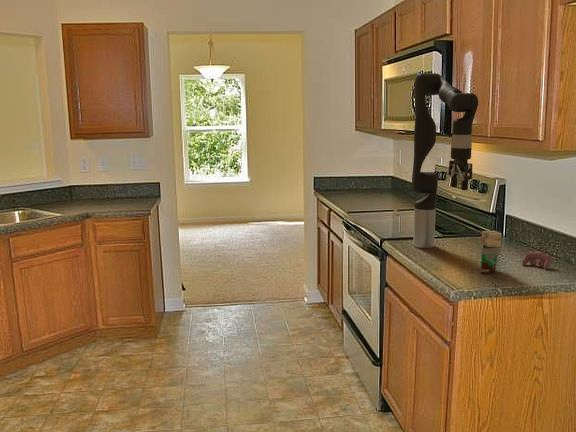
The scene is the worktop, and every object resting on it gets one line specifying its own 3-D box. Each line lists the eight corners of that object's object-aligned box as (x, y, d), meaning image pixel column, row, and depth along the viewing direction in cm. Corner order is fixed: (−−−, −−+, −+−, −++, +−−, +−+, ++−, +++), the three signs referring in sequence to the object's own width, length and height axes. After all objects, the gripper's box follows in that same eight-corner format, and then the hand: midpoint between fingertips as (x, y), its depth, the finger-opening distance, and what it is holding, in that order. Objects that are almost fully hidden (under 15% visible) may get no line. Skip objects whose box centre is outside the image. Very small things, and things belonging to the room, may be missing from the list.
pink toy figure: (549, 272, 214) (554, 255, 215) (546, 269, 211) (550, 251, 212) (524, 267, 221) (528, 250, 222) (520, 264, 218) (524, 247, 219)
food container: (498, 276, 204) (499, 249, 203) (480, 274, 207) (481, 248, 205) (498, 267, 216) (500, 242, 214) (482, 266, 218) (483, 241, 216)
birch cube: (481, 244, 211) (482, 231, 210) (493, 243, 212) (494, 230, 211) (488, 247, 206) (489, 234, 206) (500, 246, 207) (501, 233, 206)
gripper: (443, 145, 219) (441, 186, 222) (461, 148, 205) (459, 191, 208) (461, 145, 220) (459, 186, 223) (480, 147, 206) (477, 191, 209)
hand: (459, 188), depth 216 cm, fingers open, 8 cm apart
